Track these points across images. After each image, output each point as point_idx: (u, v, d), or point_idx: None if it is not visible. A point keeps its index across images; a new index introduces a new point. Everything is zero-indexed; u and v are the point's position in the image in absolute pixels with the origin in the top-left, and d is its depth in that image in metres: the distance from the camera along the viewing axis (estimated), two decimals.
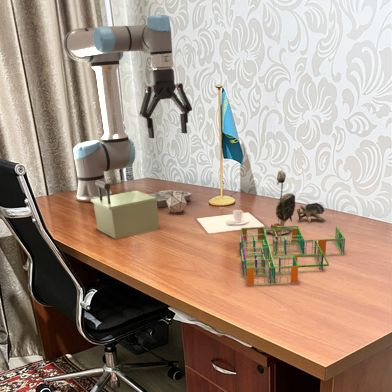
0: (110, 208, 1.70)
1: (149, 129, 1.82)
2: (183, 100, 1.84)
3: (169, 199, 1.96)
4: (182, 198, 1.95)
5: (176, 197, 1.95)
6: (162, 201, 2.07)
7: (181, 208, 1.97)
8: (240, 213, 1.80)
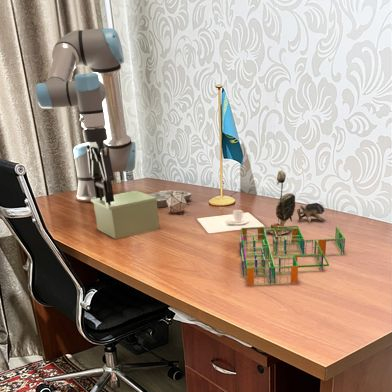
0: (110, 208, 1.70)
1: None
2: None
3: (169, 199, 1.96)
4: (182, 198, 1.95)
5: (176, 197, 1.95)
6: (162, 201, 2.07)
7: (181, 208, 1.97)
8: (240, 213, 1.80)
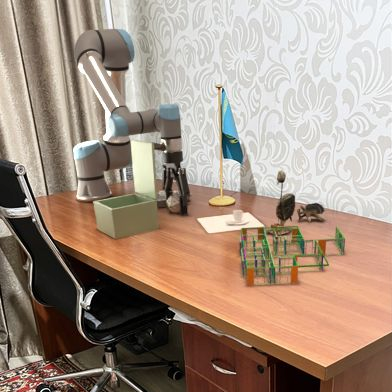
0: (152, 145, 1.69)
1: None
2: None
3: (169, 199, 1.96)
4: None
5: (176, 197, 1.95)
6: (162, 201, 2.07)
7: None
8: (240, 213, 1.80)
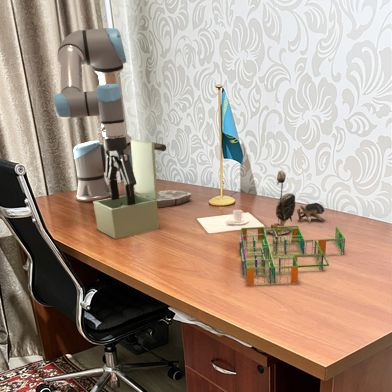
0: (152, 145, 1.69)
1: None
2: None
3: None
4: None
5: None
6: (162, 201, 2.07)
7: None
8: (240, 213, 1.80)
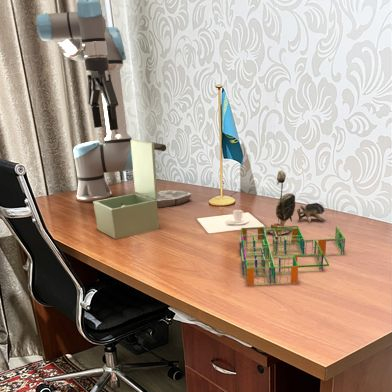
0: (152, 145, 1.69)
1: None
2: None
3: None
4: None
5: None
6: (162, 201, 2.07)
7: None
8: (240, 213, 1.80)
